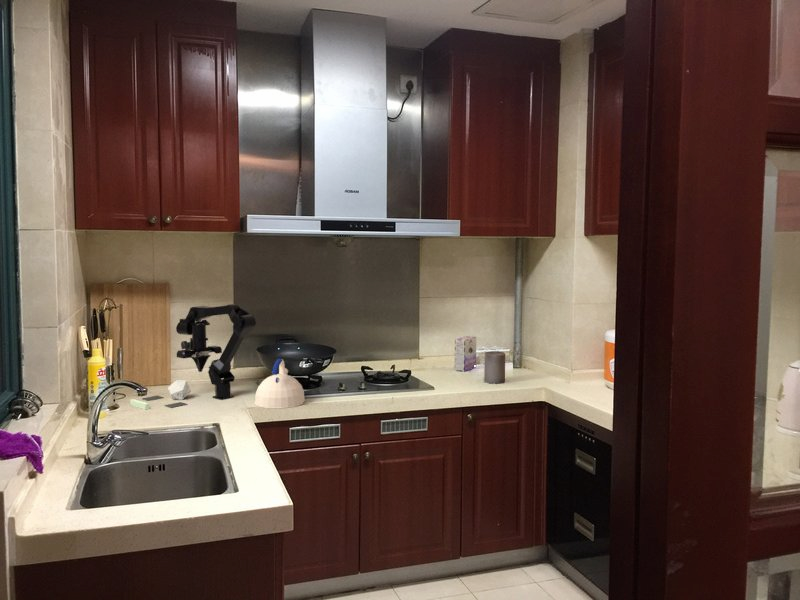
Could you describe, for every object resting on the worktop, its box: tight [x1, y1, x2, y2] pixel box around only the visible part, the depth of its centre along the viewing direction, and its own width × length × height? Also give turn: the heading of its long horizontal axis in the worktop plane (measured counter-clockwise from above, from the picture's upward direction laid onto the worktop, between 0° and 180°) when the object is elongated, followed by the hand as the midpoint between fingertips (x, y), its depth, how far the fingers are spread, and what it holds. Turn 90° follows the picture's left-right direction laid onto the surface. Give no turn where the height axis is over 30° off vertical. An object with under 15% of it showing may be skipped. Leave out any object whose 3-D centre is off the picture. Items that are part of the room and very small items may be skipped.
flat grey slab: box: [129, 394, 188, 410], centre depth 261 cm, size 23×15×2 cm, turn 50°
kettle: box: [254, 358, 306, 410], centre depth 262 cm, size 20×21×18 cm
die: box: [167, 379, 192, 401], centre depth 269 cm, size 8×9×10 cm
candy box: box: [454, 335, 477, 373], centre depth 332 cm, size 14×6×16 cm, turn 147°
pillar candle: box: [483, 350, 506, 385], centre depth 301 cm, size 10×10×15 cm
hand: (200, 371), depth 276 cm, fingers closed
